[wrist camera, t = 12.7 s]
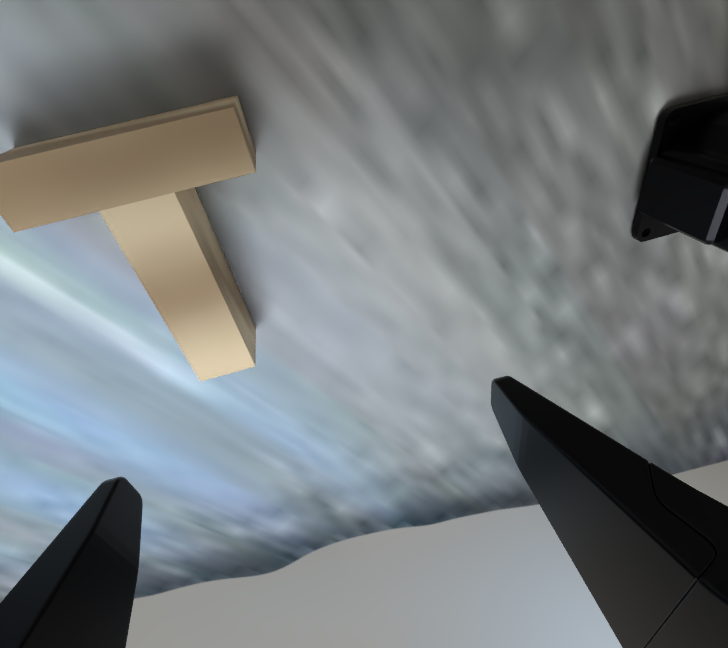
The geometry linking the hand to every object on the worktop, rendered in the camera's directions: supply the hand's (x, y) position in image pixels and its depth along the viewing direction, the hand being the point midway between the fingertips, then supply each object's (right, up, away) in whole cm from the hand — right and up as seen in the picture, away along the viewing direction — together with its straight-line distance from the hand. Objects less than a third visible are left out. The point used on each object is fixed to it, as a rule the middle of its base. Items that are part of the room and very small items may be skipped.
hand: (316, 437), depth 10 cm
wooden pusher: (-6, +5, +8) cm, 12 cm away
